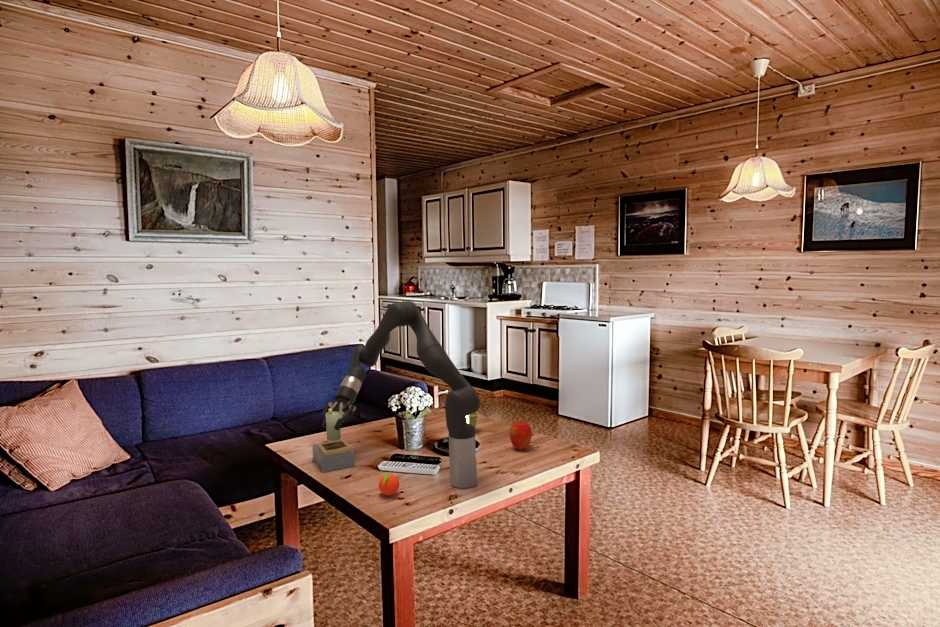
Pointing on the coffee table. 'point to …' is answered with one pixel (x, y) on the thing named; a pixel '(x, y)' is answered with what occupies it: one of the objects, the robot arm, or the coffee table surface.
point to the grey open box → (333, 455)
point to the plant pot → (473, 418)
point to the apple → (520, 435)
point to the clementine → (389, 484)
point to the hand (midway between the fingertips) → (330, 428)
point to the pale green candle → (332, 425)
